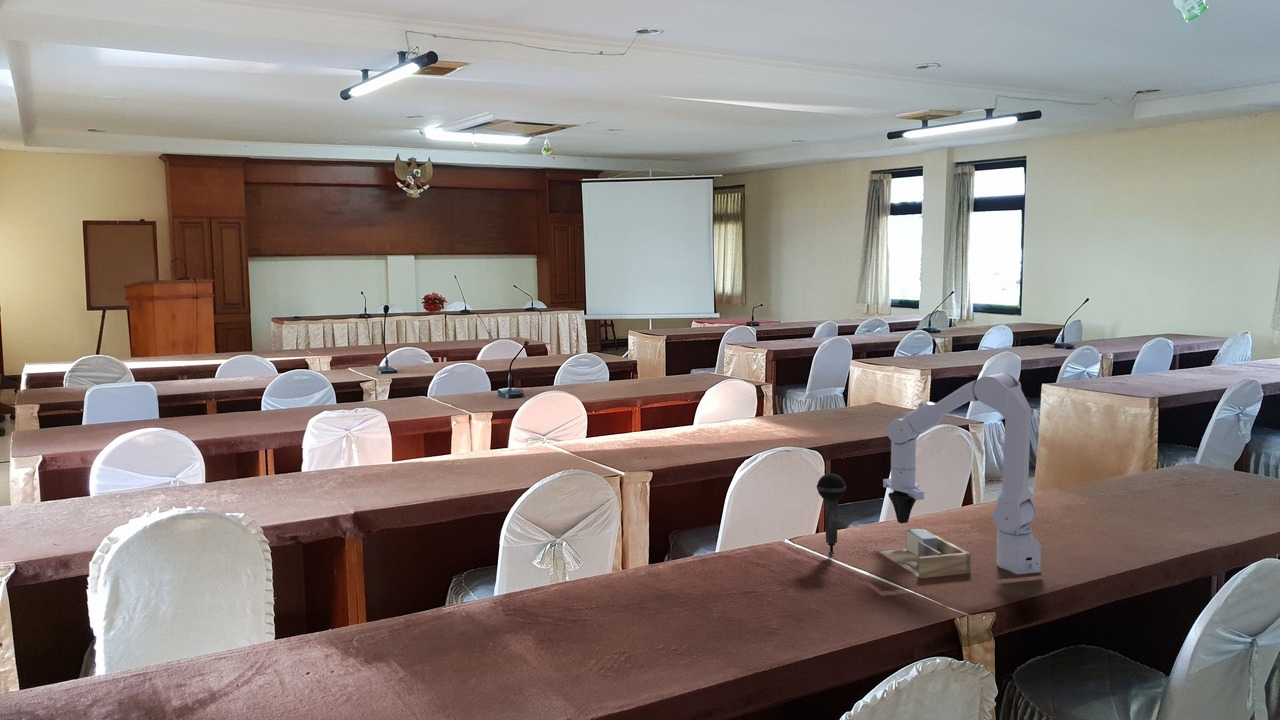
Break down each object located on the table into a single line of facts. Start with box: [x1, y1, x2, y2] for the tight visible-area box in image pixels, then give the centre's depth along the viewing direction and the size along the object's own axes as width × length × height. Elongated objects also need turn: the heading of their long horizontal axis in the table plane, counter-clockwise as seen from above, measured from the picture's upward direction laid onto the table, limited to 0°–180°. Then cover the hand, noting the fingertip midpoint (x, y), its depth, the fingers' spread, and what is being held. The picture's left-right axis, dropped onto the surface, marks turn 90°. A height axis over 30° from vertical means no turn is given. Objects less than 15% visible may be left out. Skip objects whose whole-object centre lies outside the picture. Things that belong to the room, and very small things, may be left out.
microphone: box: [816, 472, 847, 557], centre depth 223 cm, size 7×7×20 cm
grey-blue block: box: [905, 528, 937, 557], centre depth 221 cm, size 8×4×5 cm, turn 12°
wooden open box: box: [878, 529, 972, 579], centre depth 216 cm, size 20×12×6 cm, turn 12°
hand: (902, 522), depth 230 cm, fingers closed
